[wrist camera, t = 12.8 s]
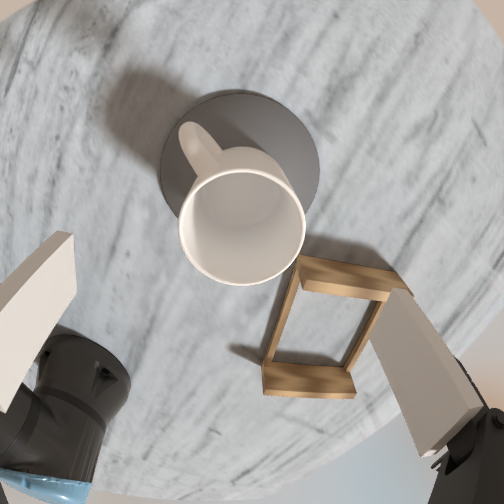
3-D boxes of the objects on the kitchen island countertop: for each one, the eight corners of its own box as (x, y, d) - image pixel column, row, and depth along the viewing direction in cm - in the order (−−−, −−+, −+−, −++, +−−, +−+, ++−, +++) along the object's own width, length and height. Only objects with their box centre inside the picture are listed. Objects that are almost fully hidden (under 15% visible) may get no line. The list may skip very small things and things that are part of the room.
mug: (158, 143, 27) (119, 167, 18) (234, 93, 26) (231, 89, 16) (228, 243, 32) (223, 304, 23) (300, 201, 30) (326, 250, 21)
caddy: (261, 366, 41) (263, 394, 37) (298, 254, 34) (306, 279, 29) (345, 372, 43) (353, 398, 38) (396, 272, 35) (414, 295, 31)
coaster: (154, 230, 32) (153, 233, 31) (175, 82, 25) (174, 82, 25) (295, 255, 34) (296, 258, 33) (335, 115, 27) (336, 115, 27)
